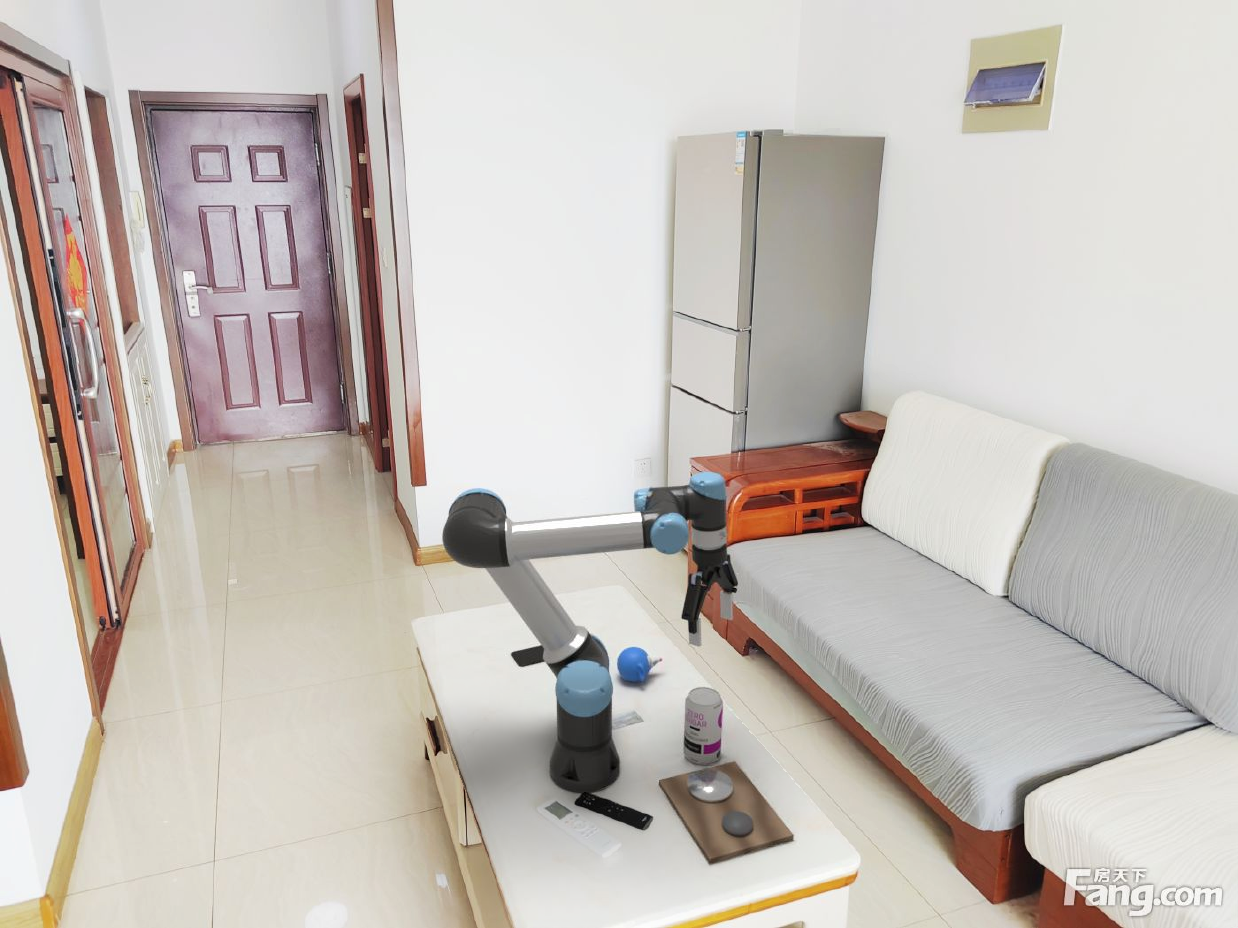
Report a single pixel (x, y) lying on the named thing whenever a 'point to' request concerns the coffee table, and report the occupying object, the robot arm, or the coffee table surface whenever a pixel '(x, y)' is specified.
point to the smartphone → (528, 656)
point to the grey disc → (737, 823)
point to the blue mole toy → (635, 664)
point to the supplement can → (703, 725)
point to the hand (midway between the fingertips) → (711, 631)
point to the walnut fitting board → (708, 816)
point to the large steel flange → (710, 786)
